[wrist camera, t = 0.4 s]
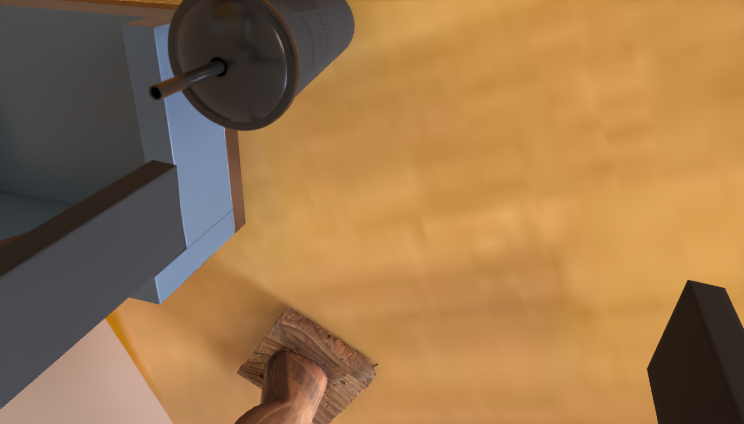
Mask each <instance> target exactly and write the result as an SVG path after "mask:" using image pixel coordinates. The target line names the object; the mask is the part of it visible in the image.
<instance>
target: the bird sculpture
mask: <svg viewBox="0 0 744 424" xmlns="http://www.w3.org/2000/svg"><path fill="white" fill-rule="evenodd" d="M293 312H294V310H293V309H292V308H291V307H288V308H287V309H285V310H284V312H283V313H282V315H281V316H280V317H279V319H278V320H277V321H276V323H275V324H274V326H273V327H272V329H271V330H270V331H269V332H268V335H267V336H265V337H264V339H263V340H262V342H260V344H259V346H257V349H256V350H254V353H253V354H254V355H256V356H255V358H256V359H252V361H251V360H250V359H251V358H250V359H249V360H247V362H246V363H245V364H242V366H241V367H240V368H239V370H238V372H237V374H239V375H240V376H242V377H244V378H245V379H247V380H248V381H250V382H251V383H253V384H255V385H256V386H258V387H259V388H261V389H262V394H261V404H260V405H258V406H255V407H253V408H252V409H251V410H249V411H247V412H246V413H245V414H244V415H242V416H241V417H240V418H239V419H238V420H237V421H236V422H235V424H311V423H312V422H314V423H315V424H328V423H330V422H331V421H332V420H333V418H335V417H336V416H337V415H338V413H340V412H342V410H343V409H345V408H346V407H347V406H348V405H349V403H351V402H352V400H353V399H354V398H356V397H357V396H358V395H359V394H360V393H361V392H362V391H363V390H365V389H366V387H368V386H369V385H370V383H371V382H372V380H373V379H374V376H375V375H376V372H375V370H376V366H377V365H378V364H376V365H371V364H370V361H369V360H370V359H368V360H367V359H365V358H363V357H362V355H361V354H360V353H357V352H356V351H357V350H355V349H349V348H348V346H344V343H343V342H341V340H339V339H338V341H337V340H336V339H335V341H334V336H332V334H330V333H327V331H325V330H323V329H322V330H321V328H320V327H319V326H317V325H316V324H315V323H314V322H313V323H311V322H310V321H308V320H309V319H306V318H305V317H304V316H303V317H302V316H300V314H299V313H298V312H297V313H296V314H293ZM297 315H299V316H298V317H297ZM318 328H319V329H318ZM328 335H330V338H328ZM261 345H262V346H263V347H260V346H261ZM260 348H262V350H261V349H260ZM298 348H299V349H298ZM285 349H287V350H290V351H287V350H285ZM294 350H295V351H296V352H297V353H296V352H294ZM256 351H257V352H256ZM258 351H265V352H264V353H260V352H259V353H258ZM257 354H261V358H262V359H263V361H261V360H260V356H257ZM265 354H266V355H265ZM303 355H304V356H303ZM254 360H256V361H257V362H255V361H254ZM264 360H266V362H265V361H264ZM259 362H260V363H259ZM267 362H268V363H267ZM315 362H317V364H319V365H320V366H319V365H317V364H316V363H315ZM263 363H264V366H262V365H261V364H263ZM324 369H325V370H327V373H325V372H324V371H323V370H324ZM259 371H261V372H259ZM328 377H331V378H329V379H328ZM342 382H344V383H342ZM350 382H351V383H350ZM333 383H334V384H333ZM347 383H348V384H347ZM336 384H338V385H337V386H336ZM333 385H335V386H333ZM326 386H328V388H330V389H331V391H328V388H327V387H326ZM353 389H355V390H353ZM357 392H358V394H357ZM331 393H332V394H331ZM354 393H355V394H354ZM324 394H327V395H326V396H325V395H324ZM328 394H330V395H328ZM351 398H353V399H351ZM327 399H329V401H326V400H327ZM321 401H323V404H322V403H321ZM324 404H326V405H327V407H326V406H325V405H324ZM330 407H331V408H330Z"/></svg>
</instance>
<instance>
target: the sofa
mask: <svg viewBox="0 0 744 424" xmlns="http://www.w3.org/2000/svg"><path fill="white" fill-rule="evenodd" d="M178 6H179V5H168V4H156V3H143V2H130V1H118V0H0V241H2V240H4V239H7V238H10V237H13V236H16V235H19V234H22V233H25V232H29V231H31V230H33V229H34V228H36V227H38V226H40V225H41V224H43V223H45V222H46V221H48V220H50V219H52V218H53V217H55V216H57V215H58V214H60V213H62V212H64V211H65V210H67V209H69V208H70V207H72V206H74V205H76V204H77V203H79V202H81V201H82V200H84V199H86V198H88V197H89V196H91V195H93V194H94V193H96V192H98V191H100V190H101V189H103V188H105V187H107V186H108V185H110V184H112V183H113V182H115V181H117V180H119V179H120V178H122V177H124V176H125V175H127V174H129V173H131V172H132V171H134V170H136V169H137V168H139V167H141V166H143V165H144V164H146V163H148V162H149V161H151V160H156V161H161V162H165V163H170V164H174V165H177V174H178V184H179V195H180V206H181V217H182V228H183V239H184V249H183V250H182V251H181V252H180V253H179V254H178V255H177V256H175V257H174V258H173V259H172V260H171V261H170V262H169V263H167V264H166V265H165V266H164V267H163V268H162V269H161V270H159V271H158V272H157V273H156V274H155V275H154V276H153V277H151V278H150V279H149V280H148V281H147V282H146V283H145V284H143V285H142V286H141V287H140V288H139V289H138V290H136V291H135V292H134V293H133V294H132V295H131V296H130V298H134V299H138V300H143V301H147V302H151V303H156V304H161V303H162V302H163V301H164V300H165V299H166V298H168V297H169V296H170V295H171V294H172V293H173V292H174V291H175V290H176V289H177V288H178V287H179V286H180V285H181V284H182V283H183V282H184V281H185V280H186V279H187V278H188V277H190V276H191V275H192V274H193V273H194V272H195V271H196V270H197V269H198V268H199V267H200V266H201V265H202V264H203V263H204V262H205V261H206V260H207V259H208V258H209V257H210V256H211V255H213V254H214V253H215V252H216V251H217V250H218V249H219V248H220V247H221V246H222V245H223V244H224V243H225V242H226V241H227V240H228V239H229V238H230V237H231V236H232V235H233V234H234V233H236V232H237V231H238V230H239V229H240V228H241V227H242V226H243V225H244V224H245V214H244V203H243V192H242V181H241V170H240V159H239V148H238V137H237V130H233V129H229V128H226V127H223V126H220V125H218V124H216V123H214V122H212V121H210V120H209V119H207V118H206V117H204V116H203V115H202V114H201V113H199V112H198V111H197V110H196V109H195V108H194V107H193V106H192V105H191V104H190V102H189V101H188V100H187V99H186V97H185V96H184V94H183V93H182V91H179V92H177V93H175V94H173V95H170V96H168V97H166V98H163V99H161V100H158V101H157V100H154V99H152V98H151V96H150V94H149V87H150V86H152V85H154V84H157V83H159V82H162V81H164V80H167V79H170V78H172V77H174V75H173V73H172V70H171V66H170V62H169V57H168V45H167V42H168V32H169V27H170V23H171V20H172V17H173V15H174V13H175V11H176V9H177V8H178Z"/></svg>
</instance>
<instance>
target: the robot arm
mask: <svg viewBox="0 0 744 424" xmlns="http://www.w3.org/2000/svg"><path fill="white" fill-rule="evenodd" d="M183 249H184V239H183V228H182V217H181V206H180V195H179V184H178V174H177V165H174V164H170V163H165V162H161V161H156V160H151V161H149V162H148V163H146V164H144V165H143V166H141V167H139V168H137V169H136V170H134V171H132V172H131V173H129V174H127V175H125V176H124V177H122V178H120V179H119V180H117V181H115V182H113V183H112V184H110V185H108V186H107V187H105V188H103V189H101V190H100V191H98V192H96V193H94V194H93V195H91V196H89V197H88V198H86V199H84V200H82V201H81V202H79V203H77V204H76V205H74V206H72V207H70V208H69V209H67V210H65V211H64V212H62V213H60V214H58V215H57V216H55V217H53V218H52V219H50V220H48V221H46V222H45V223H43V224H41V225H40V226H38V227H36V228H34V229H33V230H31V231H29V232H25V233H22V234H19V235H16V236H13V237H10V238H7V239H4V240H2V241H0V409H1V408H2V407H4V406H5V405H6V404H7V403H8V402H9V401H10V400H12V399H13V398H14V397H15V396H16V395H17V394H18V393H20V392H21V391H22V390H23V389H24V388H25V387H26V386H28V385H29V384H30V383H31V382H32V381H33V380H34V379H36V378H37V377H38V376H39V375H40V374H41V373H43V371H45V370H46V369H47V368H48V367H49V366H51V365H52V364H53V363H54V362H55V361H56V360H57V359H59V358H60V357H61V356H62V355H63V354H64V353H65V352H67V351H68V350H69V349H70V348H71V347H72V346H73V345H74V344H76V343H77V342H78V341H79V340H80V339H81V338H83V337H84V336H85V335H86V334H87V333H88V332H89V331H91V330H92V329H93V328H94V327H95V326H96V325H97V324H99V323H100V322H101V321H102V320H103V319H104V318H106V317H107V316H108V315H109V314H110V313H111V312H112V311H114V310H115V309H116V308H117V307H118V306H119V305H120V304H122V303H123V302H124V301H125V300H126V299H127V298H128V297H130V296H131V295H132V294H133V293H134V292H135V291H136V290H138V289H139V288H140V287H141V286H142V285H143V284H145V283H146V282H147V281H148V280H149V279H150V278H151V277H153V276H154V275H155V274H156V273H157V272H158V271H159V270H161V269H162V268H163V267H164V266H165V265H166V264H167V263H169V262H170V261H171V260H172V259H173V258H174V257H175V256H177V255H178V254H179V253H180V252H181V251H182V250H183ZM647 371H648V376H649V381H650V386H651V391H652V395H653V400H654V405H655V410H656V415H657V420H658V424H744V328H743V326H742V324H741V322H740V320H739V318H738V315H737V313H736V311H735V309H734V307H733V305H732V303H731V300H730V298H729V296H728V294H727V292H726V290H725V288H722V287H718V286H713V285H709V284H704V283H700V282H695V281H691V280H688V281H687V283H686V285H685V287H684V289H683V292H682V294H681V296H680V298H679V300H678V302H677V305H676V307H675V309H674V311H673V313H672V315H671V318H670V320H669V322H668V324H667V326H666V329H665V331H664V333H663V335H662V337H661V339H660V342H659V344H658V346H657V348H656V350H655V352H654V355H653V357H652V359H651V361H650V363H649V365H648V368H647Z"/></svg>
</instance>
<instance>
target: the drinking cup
mask: <svg viewBox="0 0 744 424" xmlns="http://www.w3.org/2000/svg"><path fill="white" fill-rule="evenodd" d="M353 33H354V19H353V15H352V12H351V9H350V7H349V6H348V4H347V3H346V1H345V0H183V1H182V2H181V4H180V5H179V6H178V8H177V9H176V11H175V13H174V15H173V17H172V20H171V23H170V27H169V32H168V42H167V45H168V57H169V62H170V66H171V70H172V73H173V75H174V77H172V78H170V79H167V80H164V81H162V82H159V83H157V84H154V85H152V86H150V87H149V94H150V96H151V98H152V99H154V100H157V101H158V100H161V99H163V98H166V97H168V96H170V95H173V94H175V93H177V92H179V91H182V93H183V94H184V96H185V97H186V99H187V100H188V101H189V102H190V104H191V105H192V106H193V107H194V108H195V109H196V110H197V111H198V112H199V113H201V114H202V115H203V116H204V117H206V118H207V119H209V120H210V121H212V122H214V123H216V124H218V125H220V126H223V127H226V128H229V129H233V130H241V131H250V130H257V129H260V128H263V127H266V126H268V125H270V124H271V123H273V122H275V121H276V120H277V119H279V118H280V117H281V116H282V115H283V114H284V113H285V112H286V111H287V109H288V108H289V107H290V105H291V103H292V102H293V100H294V97H295V96H296V95H297V94H298V93H300V92H301V91H302V90H303V89H304V88H305V87H306V86H307V85H308V84H309V83H310V82H311V81H312V80H313V79H314V78H315V77H316V76H317V75H318V74H320V73H321V72H322V71H323V70H324V69H325V68H326V67H327V66H328V65H329V64H330V63H331V62H332V61H333V60H334V59H335V58H336V57H337V56H339V55H340V54H341V53H342V52H343V51H344V50H345V49H346V48H347V46H348V45H349V44H350V42H351V40H352V37H353Z"/></svg>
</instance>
